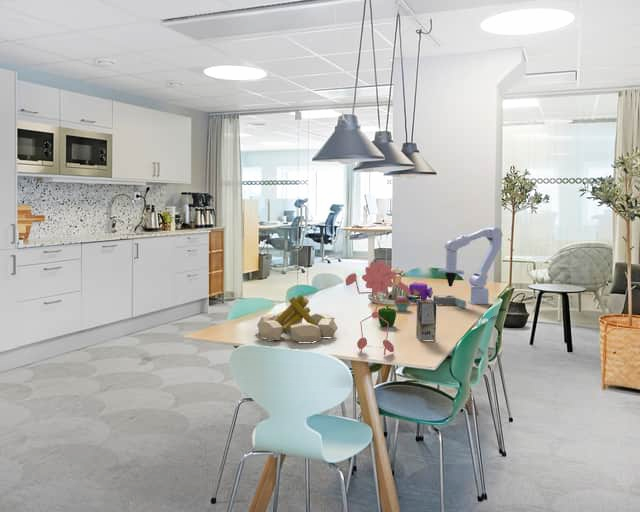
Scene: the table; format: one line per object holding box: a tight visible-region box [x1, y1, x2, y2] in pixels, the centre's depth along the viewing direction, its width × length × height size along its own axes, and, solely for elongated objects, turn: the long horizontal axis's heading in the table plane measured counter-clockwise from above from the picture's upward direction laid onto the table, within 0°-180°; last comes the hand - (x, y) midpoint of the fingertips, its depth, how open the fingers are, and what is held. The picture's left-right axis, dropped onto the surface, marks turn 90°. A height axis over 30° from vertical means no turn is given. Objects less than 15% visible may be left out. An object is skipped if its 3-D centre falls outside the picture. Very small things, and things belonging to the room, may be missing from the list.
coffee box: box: [415, 299, 437, 341], centre depth 250 cm, size 9×6×16 cm
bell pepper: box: [377, 303, 397, 327], centre depth 275 cm, size 8×8×10 cm
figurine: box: [344, 260, 410, 356], centre depth 228 cm, size 15×26×35 cm, turn 69°
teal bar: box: [455, 297, 467, 309], centre depth 326 cm, size 10×2×4 cm, turn 15°
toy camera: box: [408, 281, 434, 300], centre depth 347 cm, size 11×14×10 cm
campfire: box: [256, 294, 339, 343], centre depth 256 cm, size 35×34×17 cm
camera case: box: [432, 295, 457, 306], centre depth 335 cm, size 11×8×4 cm
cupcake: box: [393, 292, 412, 312], centre depth 314 cm, size 9×8×12 cm
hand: (450, 286), depth 335 cm, fingers closed
